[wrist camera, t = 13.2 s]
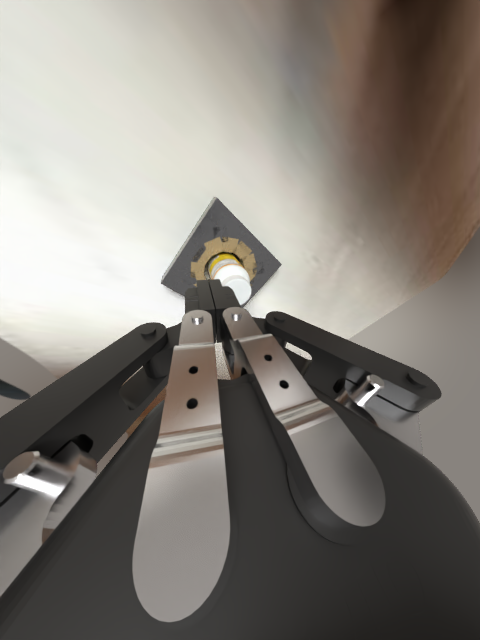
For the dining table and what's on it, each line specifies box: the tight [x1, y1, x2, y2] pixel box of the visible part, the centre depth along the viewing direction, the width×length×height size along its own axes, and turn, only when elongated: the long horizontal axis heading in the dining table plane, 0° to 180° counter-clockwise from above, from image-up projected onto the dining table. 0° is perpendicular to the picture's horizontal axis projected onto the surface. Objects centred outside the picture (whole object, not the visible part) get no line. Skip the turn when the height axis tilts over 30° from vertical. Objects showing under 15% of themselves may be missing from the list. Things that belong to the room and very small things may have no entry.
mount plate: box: [161, 197, 282, 308], centre depth 28 cm, size 14×14×2 cm
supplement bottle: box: [208, 252, 251, 305], centre depth 26 cm, size 5×5×10 cm
